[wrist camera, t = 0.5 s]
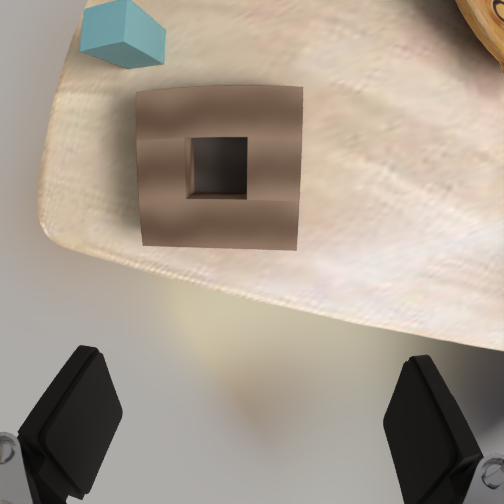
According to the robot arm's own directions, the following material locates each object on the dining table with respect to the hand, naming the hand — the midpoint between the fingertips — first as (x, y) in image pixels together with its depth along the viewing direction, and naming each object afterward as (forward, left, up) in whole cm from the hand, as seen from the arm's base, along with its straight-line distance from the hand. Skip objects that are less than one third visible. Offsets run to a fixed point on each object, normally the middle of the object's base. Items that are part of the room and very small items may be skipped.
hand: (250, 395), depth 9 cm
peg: (-18, -14, -29) cm, 36 cm away
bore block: (-4, -5, -29) cm, 29 cm away
